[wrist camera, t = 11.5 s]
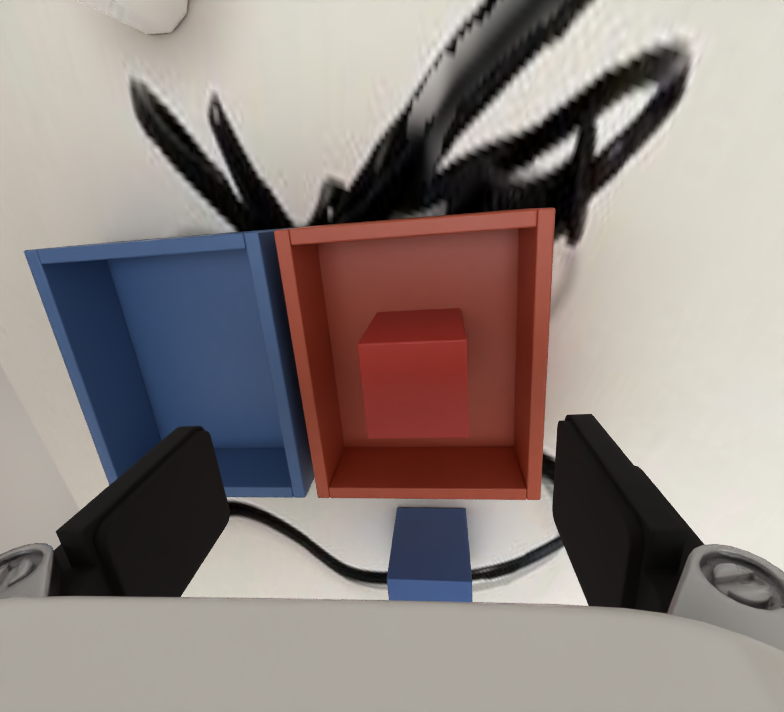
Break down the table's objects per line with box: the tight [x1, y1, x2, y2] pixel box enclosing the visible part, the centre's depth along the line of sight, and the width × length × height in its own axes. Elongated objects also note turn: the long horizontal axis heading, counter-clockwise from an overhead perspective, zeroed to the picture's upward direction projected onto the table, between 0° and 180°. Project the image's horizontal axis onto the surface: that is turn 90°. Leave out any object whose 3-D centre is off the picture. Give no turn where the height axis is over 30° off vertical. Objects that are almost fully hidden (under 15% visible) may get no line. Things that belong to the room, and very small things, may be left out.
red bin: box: [274, 208, 555, 500], centre depth 18 cm, size 10×12×4 cm
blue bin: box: [24, 228, 315, 498], centre depth 20 cm, size 10×12×4 cm
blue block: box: [387, 508, 472, 602], centre depth 22 cm, size 4×4×5 cm
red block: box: [357, 308, 469, 439], centre depth 18 cm, size 4×4×5 cm
